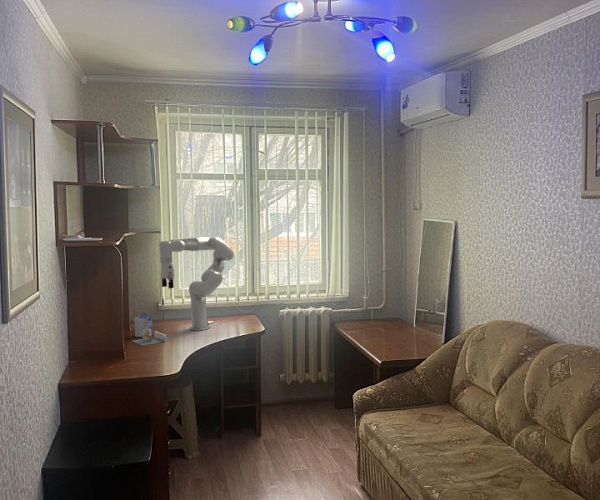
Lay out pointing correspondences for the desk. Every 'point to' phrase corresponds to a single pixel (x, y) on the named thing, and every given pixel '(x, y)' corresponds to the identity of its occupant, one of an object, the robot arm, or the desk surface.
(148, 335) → the birch cylinder
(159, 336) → the plate
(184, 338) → the desk surface
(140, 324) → the ink cartridge box
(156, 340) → the board
